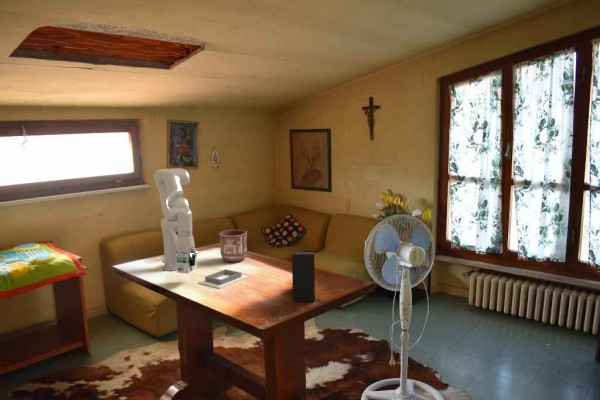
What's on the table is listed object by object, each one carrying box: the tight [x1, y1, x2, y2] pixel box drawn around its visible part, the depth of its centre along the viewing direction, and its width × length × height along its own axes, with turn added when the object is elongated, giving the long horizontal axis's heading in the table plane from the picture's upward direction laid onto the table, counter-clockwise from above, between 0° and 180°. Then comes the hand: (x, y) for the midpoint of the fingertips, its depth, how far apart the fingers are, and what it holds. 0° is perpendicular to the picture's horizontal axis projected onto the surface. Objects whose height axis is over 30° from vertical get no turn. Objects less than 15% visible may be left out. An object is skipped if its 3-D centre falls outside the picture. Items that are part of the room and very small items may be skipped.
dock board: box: [198, 269, 249, 289], centre depth 248 cm, size 16×22×3 cm
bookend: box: [291, 251, 316, 302], centre depth 225 cm, size 23×11×24 cm, turn 0°
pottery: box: [218, 229, 248, 264], centre depth 287 cm, size 18×18×18 cm
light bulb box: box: [176, 248, 198, 275], centre depth 244 cm, size 11×7×11 cm, turn 167°
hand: (186, 264), depth 244 cm, fingers closed on light bulb box, 8 cm apart
